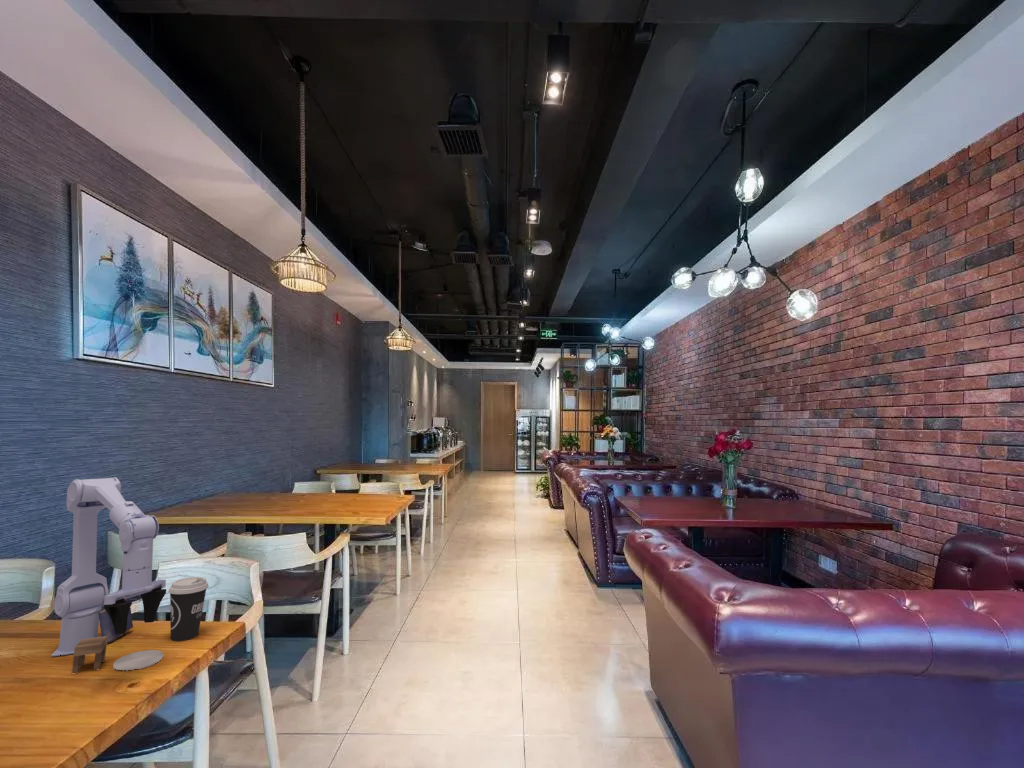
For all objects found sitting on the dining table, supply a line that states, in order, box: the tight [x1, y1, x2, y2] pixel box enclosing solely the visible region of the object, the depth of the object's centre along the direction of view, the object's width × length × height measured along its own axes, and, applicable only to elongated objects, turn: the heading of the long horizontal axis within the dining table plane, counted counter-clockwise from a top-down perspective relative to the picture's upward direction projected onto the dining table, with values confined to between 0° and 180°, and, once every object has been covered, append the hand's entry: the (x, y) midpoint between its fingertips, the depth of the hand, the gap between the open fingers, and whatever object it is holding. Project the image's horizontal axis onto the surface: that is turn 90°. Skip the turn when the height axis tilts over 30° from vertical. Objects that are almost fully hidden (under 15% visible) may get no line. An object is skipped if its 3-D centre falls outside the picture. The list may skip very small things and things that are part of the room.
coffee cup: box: [167, 576, 209, 642], centre depth 137 cm, size 10×10×15 cm
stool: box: [71, 636, 108, 674], centre depth 118 cm, size 5×5×6 cm
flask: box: [98, 598, 134, 645], centre depth 135 cm, size 9×3×11 cm, turn 179°
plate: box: [112, 649, 164, 672], centre depth 121 cm, size 10×10×1 cm
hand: (135, 627), depth 116 cm, fingers open, 7 cm apart
